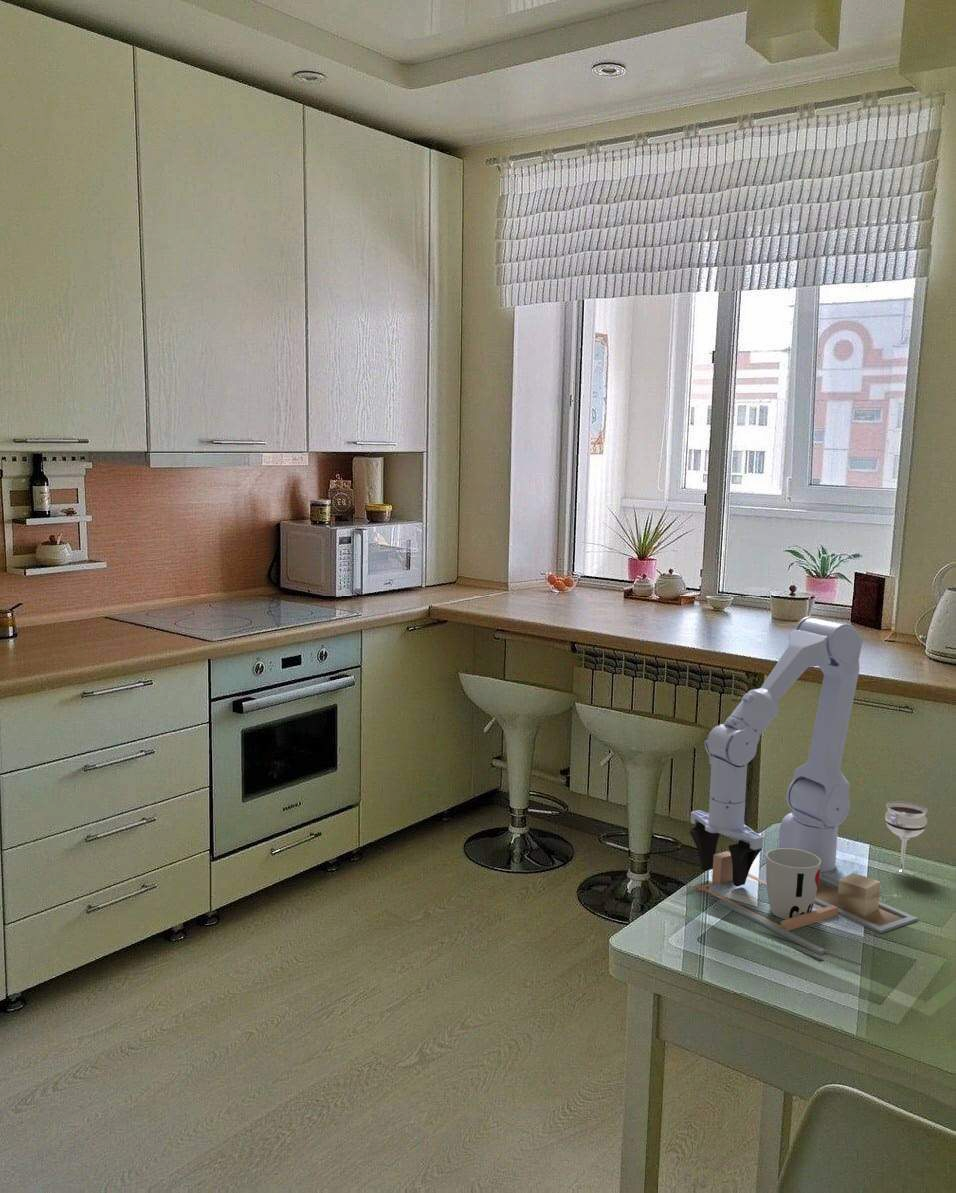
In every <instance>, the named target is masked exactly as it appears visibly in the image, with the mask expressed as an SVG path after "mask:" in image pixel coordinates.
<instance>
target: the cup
mask: <svg viewBox="0 0 956 1193" xmlns="http://www.w3.org/2000/svg"><path fill="white" fill-rule="evenodd" d="M765 865H766V866H765V869H766V871H765V873H766V876H765V881H766V882H767V885H766V889H767V898H768V899H767V900H768V905H769V909H770V912H771V913H772V914H773V915H774V916H776V917H777V918H780V919H783V920H786V919H789V918H793V917H796V916H799V915H802V914H805V913H809V912H812V911H813V908H814V907H813V905H814V904H815V903H814V901H815V897H816V893H817V889H818V882H820V881H819V876H821V875H820V874H821V872H820V867H821V860H820V858H819V857H817V856H816V855H814V854H812V853H809V852H806V851H803V850H798V849H789V848H780V849H778V848H774V849H770V850H768V851H767V852H766V853H765Z"/></svg>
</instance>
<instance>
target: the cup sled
mask: <svg viewBox="0 0 956 1193" xmlns="http://www.w3.org/2000/svg"><path fill="white" fill-rule="evenodd" d="M747 877H749V878H750V879H753V880H756V881H757V882H760V883H761V884H763V885H766V886H767V882H766V880H763V879H761V878H759V877H757V876H754V875H752V874H750V873H748V876H747ZM729 882H733V865H732V858H731V854H730V851H728V850H726V851H722V852H719V853H716V854H714V856H713V869H712V876H711V882H709V883H705V884H700V885H699V884H697V885H695V887H694V893H697V892H699V891H704V892H706V893H708V894H711V895H713V896H714V897H716V898H719V899H720V900H727V901H729V902H731V903H733V904H735V905H737V906H739V907H741V908H743V909H745V910H747V911H749V912H751V913H753V914H755V915H757V916H759V917H761V918H763V919H765V920H767V921H769V922H771V923H773V924H775V925H777V926H778V927H780V928H782V929H784V930H786V931H788V932H790V931H792V930H797V929H798V928H802V927H805V926H808V925H811V924H814V923H817V922H821V921H823V920H826V919H829V918H832V917H835V916H838V915H839V914H838V907H836V906H834V905H831V906H828V907H825V908H824V907H822V906H820V905H818V904H815V903H814V905H813V908H816V910H812V911H811V912H809V913H805V914H802V915H799V916H796V917H793V918H789V919H783V920H781V921H780V924H778V923H776V922H774V921H772V920H771V919H768V918H766V917H764V916H762V915H760V914H758V913H756V912H754V911H752V910H750V909H748V908H746V907H744V906H742V905H740V904H738V903H737V902H734V901H732V900H731V899H728V898H726V897H724V896H722V895H720V894H719V893H716V892H714V891H713V890H710V889H709V888H708V887H711V886H713V885H716V884H719V885H721V884H725V883H729Z"/></svg>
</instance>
